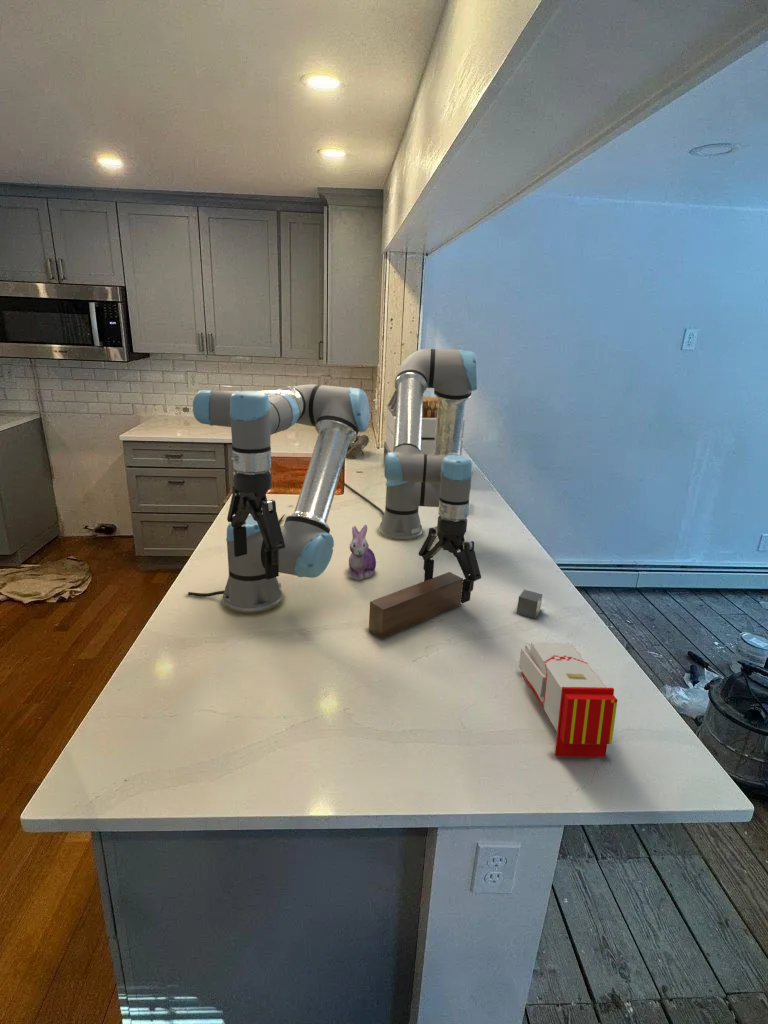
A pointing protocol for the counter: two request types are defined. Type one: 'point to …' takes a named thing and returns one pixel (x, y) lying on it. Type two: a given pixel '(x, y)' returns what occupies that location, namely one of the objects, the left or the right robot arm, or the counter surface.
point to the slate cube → (529, 603)
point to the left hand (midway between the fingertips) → (255, 565)
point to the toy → (570, 698)
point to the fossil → (357, 446)
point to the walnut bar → (414, 604)
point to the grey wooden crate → (427, 425)
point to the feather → (281, 519)
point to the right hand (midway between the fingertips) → (446, 591)
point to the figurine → (361, 555)
